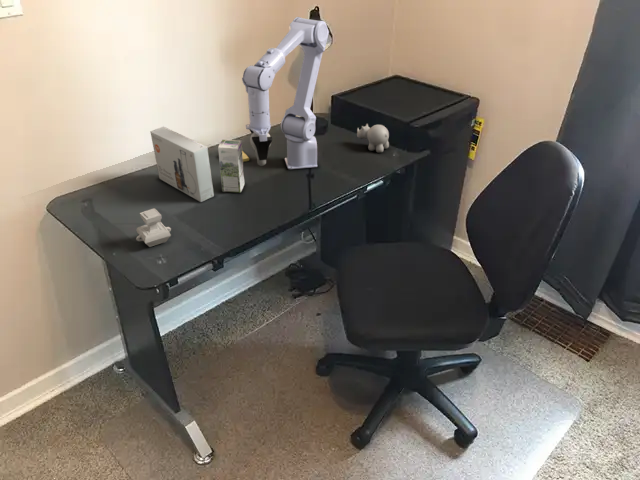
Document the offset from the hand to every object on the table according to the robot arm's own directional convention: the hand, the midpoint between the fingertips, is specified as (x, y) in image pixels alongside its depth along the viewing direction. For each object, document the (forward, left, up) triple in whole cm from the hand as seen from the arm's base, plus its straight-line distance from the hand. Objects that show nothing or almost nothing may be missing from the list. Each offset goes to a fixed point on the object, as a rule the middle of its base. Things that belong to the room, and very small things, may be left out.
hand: (261, 154), depth 165 cm
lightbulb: (0, 0, -4) cm, 4 cm away
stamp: (+31, +26, -10) cm, 41 cm away
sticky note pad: (+7, -20, -10) cm, 24 cm away
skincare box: (+23, -2, -10) cm, 25 cm away
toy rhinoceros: (-40, -20, -10) cm, 46 cm away
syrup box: (+9, +1, -10) cm, 13 cm away
